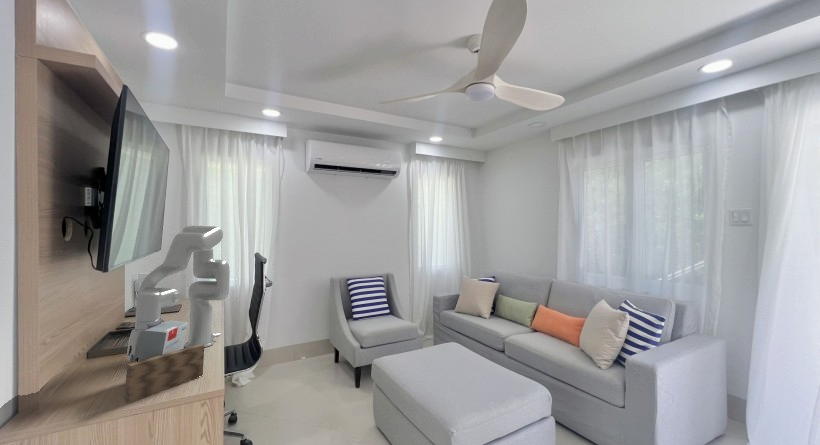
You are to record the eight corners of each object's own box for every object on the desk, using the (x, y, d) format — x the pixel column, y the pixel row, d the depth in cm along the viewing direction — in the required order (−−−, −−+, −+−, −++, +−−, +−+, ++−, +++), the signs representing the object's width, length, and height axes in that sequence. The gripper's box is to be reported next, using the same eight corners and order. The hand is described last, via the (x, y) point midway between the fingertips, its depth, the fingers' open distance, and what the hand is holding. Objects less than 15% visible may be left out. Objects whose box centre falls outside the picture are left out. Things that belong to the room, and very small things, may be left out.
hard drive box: (155, 389, 116) (165, 332, 117) (132, 387, 115) (142, 330, 116) (180, 371, 131) (188, 321, 133) (159, 369, 130) (168, 319, 132)
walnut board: (198, 374, 129) (200, 343, 129) (202, 376, 128) (204, 344, 128) (124, 401, 107) (127, 364, 108) (128, 403, 106) (131, 365, 106)
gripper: (163, 318, 133) (161, 364, 132) (118, 327, 119) (115, 378, 119) (174, 321, 130) (171, 368, 129) (129, 330, 116) (125, 383, 115)
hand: (144, 373), depth 124 cm, fingers closed
